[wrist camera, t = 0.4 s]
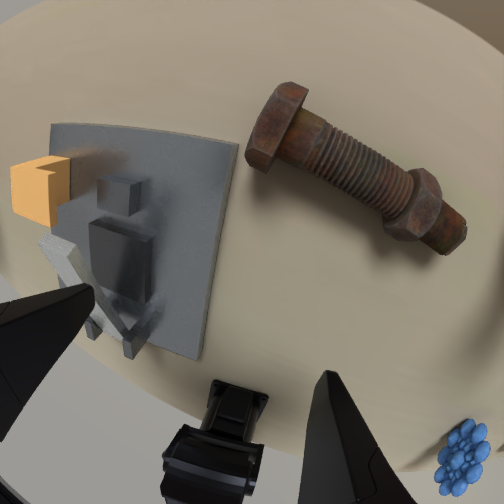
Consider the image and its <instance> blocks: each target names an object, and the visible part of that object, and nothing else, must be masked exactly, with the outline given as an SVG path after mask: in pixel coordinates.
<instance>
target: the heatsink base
mask: <svg viewBox="0 0 504 504" xmlns="http://www.w3.org/2000/svg"><path fill="white" fill-rule="evenodd" d="M238 146H239V144H237V143H232V142H227V141H222V140H217V139H212V138H206V137H201V136H195V135H189V134H182V133H176V132H169V131H162V130H154V129H146V128H137V127H127V126H116V125H104V124H87V123H55V124H51V131H50V147H49V156H51V155H52V156H59V157H65V158H70V201H69V202H66V203H64V204H62V205H59V206H57V221H58V224H57V225H55V226H53V227H51V231H52V234H53V235H55V236H57V237H60V238H62V239H65V240H67V241H69V242H72V243H74V244H76V245H77V247H78V249H79V251H80V253H81V254H82V256H83V258H84V260H85V262H86V263H87V265H88V267H89V269H90V270H91V272H92V274H93V276H94V277H95V279H96V281H97V282H98V284H99V286H100V287H101V289H102V290H103V292H104V294H105V295H106V297H107V298H108V300H109V302H110V303H111V305H112V306H113V308H114V309H115V311H116V312H117V314H118V315H119V317H120V318H121V320H122V321H123V322H124V324H125V325H126V327H127V328H128V330H129V331H128V333H127V334H126V335H125V336H124V337H123V339H122V342H123V349H124V356H125V357H127V358H129V359H131V360H133V359H134V358H135V356H136V355H137V353H138V352H139V351H140V349H141V348H142V347H143V345H144V344H145V342H146V341H147V342H149V343H152V344H154V345H157V346H159V347H162V348H164V349H167V350H169V351H172V352H174V353H177V354H179V355H182V356H185V357H187V358H190V359H193V360H195V361H197V359H198V357H199V355H200V353H201V351H202V346H203V339H204V332H205V326H206V319H207V313H208V307H209V300H210V294H211V288H212V282H213V276H214V270H215V264H216V259H217V253H218V247H219V242H220V236H221V231H222V226H223V220H224V215H225V210H226V204H227V199H228V194H229V189H230V184H231V179H232V174H233V169H234V165H235V160H236V155H237V150H238ZM57 275H58V273H57ZM58 280H59V286H60V289H61V288H65V287H67V286H66V285H65V283H64V282H63V280H62V279H61V278H60V276H59V275H58ZM84 324H85V328H86V332H87V337H88V338H90V339H92V340H94V341H95V340H96V338H97V337H98V336H99V335H100V334H101V333H102V332H103V330H102V329H101V328H100V327H99V326H98V325H97V323H96V322H95V321H94V320H93V319H92V318H91V316H90V315H89V317H88V318H87V320H86V321H85V323H84Z"/></svg>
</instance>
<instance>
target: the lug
mask: <svg viewBox="0 0 504 504" xmlns="http://www.w3.org/2000/svg"><path fill="white" fill-rule="evenodd" d="M11 192H12V204H13V212H14V213H17V214H19V215H21V216H24V217H26V218H28V219H30V220H33V221H35V222H38V223H40V224H42V225H45V226H47V227H50V228H51V227H53V226H55V225H57V224H58V221H57V206H59V205H62V204H64V203H66V202H69V201H70V158H65V157H59V156H52V155H51V156H47V157H43V158H39V159H36V160H32V161H29V162H25V163H22V164H18V165H15V166H12V167H11Z"/></svg>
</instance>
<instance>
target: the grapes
mask: <svg viewBox="0 0 504 504" xmlns="http://www.w3.org/2000/svg"><path fill="white" fill-rule="evenodd" d="M486 435H487V427H486V425H485V424H484V423H480V424H478V425H477V426H476V424H475V421H474V420H473V419H468V420H466V421H465V422H464V424H463V425H462V427H461V429H460V428H456V429H454V430H453V431H452V432H451V433H450V434H449V436H448V439H447V443H448V446H446V447H444V448H443V449H442V450H441V451H440V452H439V454H438V459H437V460H438V463H439V464H440V465H442V466H440V467H439V468H438V469H437V470H436V472H435V476H434V480H435V482H436V483H441V485H440V487H439V493H440V494H441V495H443V496H446V495H448V494H450V493H452V495H453V496H455V497H458V496H460V495H462V494H463V493H464V492H465V491H466V489H467V486H468V484H473V483H475V482H477V481H478V479H479V478H480V476H481V474H482V472H483V468H482V465H481V464H480V463H481V462H483V461H484V460H486V458H487V457H488V455H489V453H490V450H491V448H490V443H489V442H488V441H484V439H485V438H486Z"/></svg>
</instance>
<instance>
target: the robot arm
mask: <svg viewBox="0 0 504 504" xmlns="http://www.w3.org/2000/svg"><path fill="white" fill-rule="evenodd" d="M94 307H95V294H94V288H93V287H92V286H91V285H89V284H87V283H82V284H77V285H73V286H69V287H65V288H61V289H57V290H53V291H49V292H45V293H41V294H37V295H33V296H29V297H25V298H21V299H17V300H13V301H11V302H10V301H9V302H5V303H1V304H0V442H2V441H3V440H4V438H5V436H6V435H7V433H8V431H9V430H10V428H11V426H12V425H13V423H14V422H15V420H16V419H17V417H18V415H19V414H20V412H21V411H22V409H23V407H24V406H25V405H26V403H27V402H28V400H29V399H30V397H31V396H32V394H33V393H34V391H35V390H36V388H37V387H38V386H39V384H40V383H41V382H42V380H43V379H44V377H45V376H46V375H47V373H48V372H49V370H50V369H51V368H52V366H53V365H54V364H55V362H56V361H57V360H58V358H59V357H60V356H61V355H62V353H63V352H64V351H65V349H66V348H67V347H68V345H69V344H70V343H71V342H72V341H73V339H74V338H75V337H76V335H77V334H78V332H79V331H80V329H81V328H82V326H83V324H84V323H85V321H86V320H87V318H88V317H89V315H90V314H91V312H92V311H93V309H94ZM268 399H269V396H268V395H266V394H262V393H259V392H255V391H251V390H248V389H244V388H241V387H238V386H234V385H231V384H228V383H225V382H222V381H219V380H213V381H212V384H211V389H210V394H209V399H208V404H207V408H208V409H207V412H206V414H205V417H204V419H203V422H202V424H201V427H200V429H196V428H193V427H190V426H189V425H186V424H184V425H183V426H182V428H181V429H179V431H178V432H177V434H176V436H175V437H174V439H173V440H172V442H171V443H170V445H169V447H168V448H167V449H166V450H165V451H164V452H163V454H162V458H163V460H164V462H163V471H164V472H165V475H164V478H163V480H162V483H161V485H160V490H161V495H162V497H164V498H165V501H166V504H242V502H243V498H244V495H246V496H252V494H253V491H254V488H255V485H256V481H257V477H258V473H259V469H260V464H261V459H262V454H263V449H264V444H255V443H251V441H252V437H253V433H254V429H255V425H256V422H257V421H258V419H259V417H260V415H261V413H262V411H263V409H264V407H265V406H266V404H267V402H268ZM0 504H30V503H29V502H27V501H26V500H25V499H24V498H23V497H22V496H21V495H20V494H19V493H17V492H16V491H15V490H14V489H13V488H12V487H11V486H10V485H9V484H8V483H7V482H6V481H5V480H4V479H3V478H2V477H1V476H0ZM298 504H417V503H416V502H415V501H414V499H413V498H412V497H411V495H410V494H409V493H408V491H407V490H406V488H405V487H404V486H403V484H402V483H401V482H400V480H399V478H398V477H397V476H396V474H395V473H394V471H393V470H392V468H391V467H390V465H389V463H388V462H387V460H386V458H385V457H384V455H383V453H382V451H381V449H380V448H379V447H378V444H377V442H376V441H375V439H374V437H373V435H372V433H371V432H370V430H369V428H368V426H367V424H366V423H365V421H364V419H363V417H362V415H361V414H360V412H359V410H358V408H357V406H356V405H355V403H354V401H353V399H352V398H351V396H350V394H349V392H348V390H347V389H346V387H345V385H344V383H343V382H342V380H341V378H340V376H339V375H338V373H337V372H335V371H331V370H325V371H324V373H323V374H322V376H321V377H320V379H319V381H318V382H317V384H316V386H315V389H314V394H313V399H312V404H311V409H310V414H309V418H308V423H307V430H306V440H305V450H304V459H303V468H302V476H301V483H300V491H299V498H298Z"/></svg>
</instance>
